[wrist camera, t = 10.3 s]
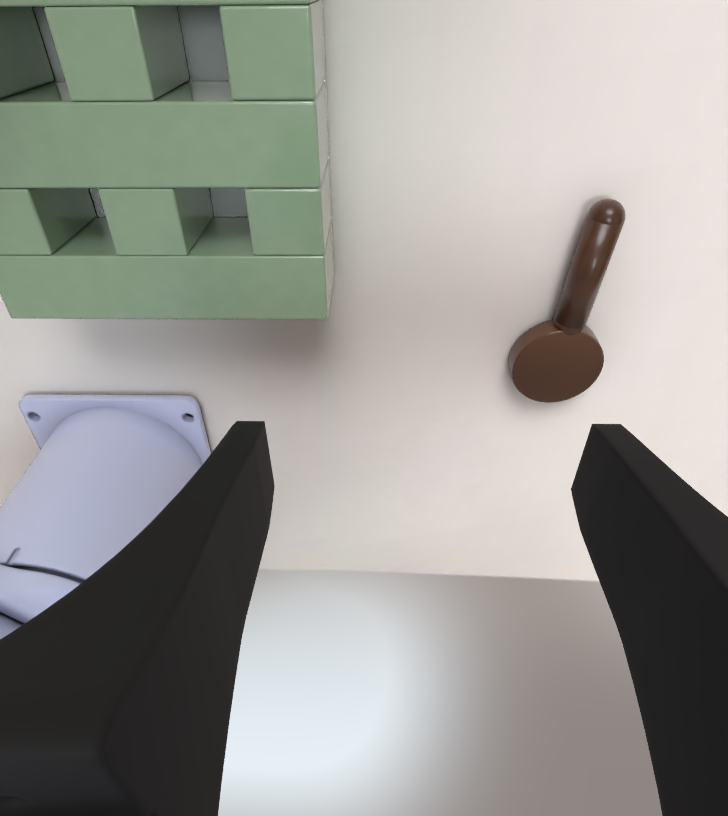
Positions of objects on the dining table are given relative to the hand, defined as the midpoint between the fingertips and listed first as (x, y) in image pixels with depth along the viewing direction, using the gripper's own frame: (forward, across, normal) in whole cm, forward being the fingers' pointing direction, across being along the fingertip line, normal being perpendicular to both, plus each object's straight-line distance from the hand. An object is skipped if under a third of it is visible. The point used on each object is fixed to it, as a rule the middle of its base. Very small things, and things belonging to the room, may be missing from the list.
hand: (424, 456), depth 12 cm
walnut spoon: (+10, -7, -3) cm, 12 cm away
